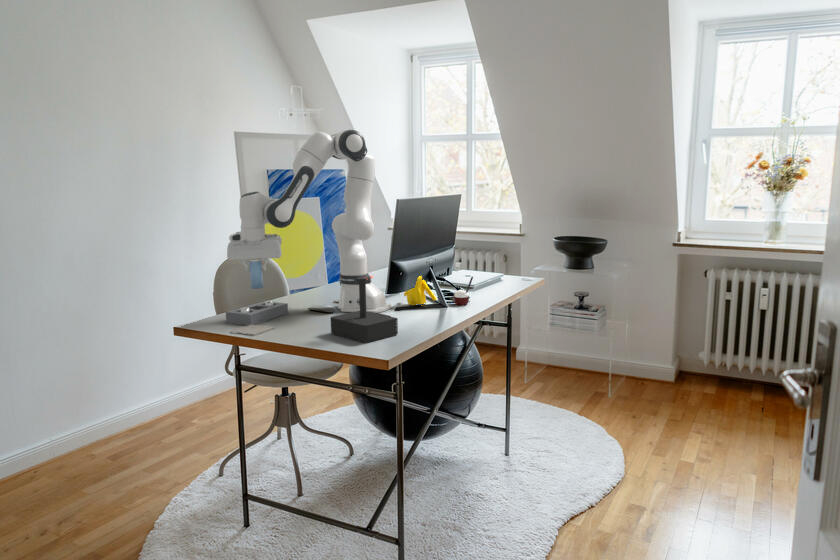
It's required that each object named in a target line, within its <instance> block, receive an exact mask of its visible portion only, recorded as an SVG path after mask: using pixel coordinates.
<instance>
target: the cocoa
mask: <svg viewBox="0 0 840 560" xmlns="http://www.w3.org/2000/svg"><path fill="white" fill-rule="evenodd" d="M473 279H474V276H471V277H470V280H469V282H468V285H467V288H466V290H463V289H459V290H457V291H455V292H454V294H453V296H451V297H450V300H451V302H453V303H454V304H456V305H457V306H460V305H463V306H466V305H468V303H469V300H470V294H469V290H470V287H471V284H472V281H473ZM465 304H466V305H465Z"/></svg>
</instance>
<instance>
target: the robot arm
mask: <svg viewBox="0 0 840 560" xmlns="http://www.w3.org/2000/svg"><path fill="white" fill-rule="evenodd" d="M331 158H335V159H337V160H346V162H347V166H348V169H347V174H346V175H347V176H346V181H345V187H344V193H343V198H344V201H345V212H342V213H340V214H337V215H336V216H335V217H334V218H333V220H332V221H331V229H332V231H333V233H334V236H335V241H336V244H337V247H338V248H337V249H338V253H339V270H340V271H339V272H340V273H339V285H340V288H339V289H340V290H339V291H340V292H339V301H338V305H337V309H339V310H340V312H343V313H345V312H346V313H351V312H356V311H360V300H359V284H358V283H357V278H360V277H366V278H367V283H366V311H368V312H375V313H382V312H383V313H384V312H386V311H389V310H390V309H392V304H391V303H390V304H389V303H387V301H386V300H387V298H386V296H385V293H384V292H383V291H382V290H381V289H380V288H379V287H377V286H376V285H375V284H374V283H372V279H373V278H374V275H370V274H369V273H368V260H367V259H368V257H367V252H366V251H365V248H364V245H363V242H364V241H367V240H369V239H370V238H371V237H373V235H374V231H375V225H374V222H373V220H372V196H373V189H374V183H375V178H376V177H375V176H376V160H375V159H376V158H375V157H374V155H372V154H371V153H368V148H367V145H366V140H365V137H364V136H363V134H362V133H361V132H360V131H357V130H354V129H347V130H342V131H340V132H337V133H335V134H332V135H331V134H328V133H327V132H324V131H316V132H313V134H312V135H310V137H309V138H308V139H307V140H306V141H305V143H304V144H303V145H302V147H301V148H300V150H299V151H298V152H297V153H296V156H295V158H294V160H293V162H292V170H293V177H292V179H291V182H290V183H289V185H288V186H287V188H286V190H285V191H284V192H283V195H282V196H280V198H279V199H274V198H273V197H272V198H271V197H269V196H266V195H265V194H263V193H261V192H260V191H251V192H247V193H244V194H242V195H241V196H240V198H239V218H240V221H241V223H240V231H237V232H235V233H233V234H230V235H229V237H228V240H229V241H230V242H228V244H227V251H226V256H227V259H228V260H229V261H241V262H242V264H243V266H244V268H245V272H250V267H249V265H248V264H247V263H246V262H247V260H249V261H250V259H261V260H263V261H264V265H263V264H262V271H266V270H267V264H268V263H269V260H270V259H280V258H281V257H282V255H283V254H282V253H283V252H282V247H281V245H282V237H281V236H280V235H279V234H277V233H272V234H271V233H269V234H268V233H267V234H266V228H265V227H266V226H265V225H266V224H270V225H272V226H273V227H275V228H277V229H283V228H287V227H289V226H290V225H291V224H292V223H293V221H294V219H295V216H296V209H297V207H298V205H299V203H300V201H301V200H302V198H303V196H304V195H305V194H306V191H307V190H308V189H309V187H310V185H311V184H312V183H313V182H314V180H315V179H316V178H317V176H318V175H319V174H320V172H321V171H322V170H323V169H324V167H325V166H326V163H327V162H328V160H329V159H331Z"/></svg>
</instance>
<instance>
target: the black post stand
mask: <svg viewBox="0 0 840 560" xmlns="http://www.w3.org/2000/svg"><path fill="white" fill-rule="evenodd" d="M357 283H358V284H359V300H360V311H356V312H346V313H342V314H339V315H334V316H331V317H330V332H331V334H333V335H335V336H338V337H339V336H340V337H343V338H347V339H350V340H354V341H358V342H361V343H364V344H365V343H366V344H367V343H371V342H374V341H377V340H378V341H379V340H382V339H383V340H384V339H387V338H389V337H394V336H397V335H398V334H399V330H398V329H399V323H398V318H397V317H394V316H391V315H387V314H383V313H381V312H378V313H375V312H368V311H366V283H367V278H366V277H360V278H357Z"/></svg>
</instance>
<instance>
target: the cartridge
mask: <svg viewBox="0 0 840 560" xmlns="http://www.w3.org/2000/svg"><path fill="white" fill-rule="evenodd" d="M248 264H249V265H248V266H249V267H250V271H249V275H250V276H249V278H250V289H252V290H256V289H259V290H260V289H262V288H264V278H263V277H264V276H263V270H262V265H263V264H262V259H249V261H248Z"/></svg>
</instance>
